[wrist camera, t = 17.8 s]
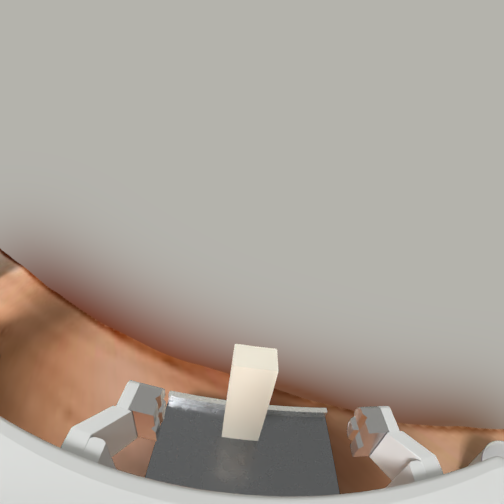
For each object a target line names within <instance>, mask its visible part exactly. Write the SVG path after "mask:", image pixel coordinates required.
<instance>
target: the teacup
mask: <svg viewBox="0 0 504 504" xmlns="http://www.w3.org/2000/svg"><path fill="white" fill-rule="evenodd" d="M494 456H500V457H502V458H504V441H493V442H491V443H489V444H488V445H487V446H486V447H485V448H484V450H483V451H482V452H481V453H480V454H479V455H478V456H477V457H476V458H475V459H474V460H473V461H472V462H471V463H470V464H469V465H468V466H470V465H473V464H476V463H478V462H481V461H484V460H486V459H488V458H491V457H494ZM468 466H467V467H468Z"/></svg>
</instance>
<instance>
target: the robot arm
mask: <svg viewBox="0 0 504 504" xmlns="http://www.w3.org/2000/svg"><path fill="white" fill-rule="evenodd" d="M164 397H165V389H163V388H159V387H155V386H151V385H147V384H143V383H139V382H135V381H132V380H130V381H129V382H128V383H127V385H126V387H125V389H124V391H123V393H122V395H121V397H120V399H119V401H118V403H117V405H116V406H111V407H109V408H107V409H106V410H104V411H102V412H100V413H98V414H96V415H94V416H92V417H91V418H89V419H87V420H85V421H83V422H81V423H79V424H77V425H75V426H73V427H72V428H71V429H70V431H69V433H68V435H67V437H66V439H65V440H64V442H63V444H62V446H61V448H59V447H57V446H55V445H53V444H51V443H49V442H47V441H45V440H42V439H40V438H38V437H36V436H35V435H33V434H31V433H29V432H27V431H25V430H23V429H21V428H20V427H18V426H16V425H14V424H13V423H11V422H9V421H7V420H6V419H4V418H3V417H1V416H0V504H504V458H502V457H500V456H494V457H491V458H488V459H486V460H484V461H481V462H478V463H476V464H473V465H470V466H468V467H465V468H462V469H459V470H456V471H453V472H450V473H446V474H443V472H442V469H441V467H440V464H439V462H438V460H437V457H436V456H435V455H434V454H433V453H431V452H430V451H429V450H427V449H426V448H425V447H423V446H422V445H420V444H419V443H418V442H416V441H415V440H414V439H412V438H411V437H410V436H408V435H407V434H406V433H404V432H403V431H400V430H399V428H398V425H397V423H396V421H395V418H394V416H393V414H392V411H391V409H390V407H389V406H378V407H377V406H376V407H358V408H357V409H356V410H355V412H354V415H355V416H354V417H353V418H351V419H350V421H349V423H348V426H347V436H348V438H349V439H350V440H351V441H352V443H351V445H350V448H351V452H352V456H353V457H360V456H370V458H371V459H372V460H373V461H374V462H375V463H376V464H377V465H378V466H379V467H380V469H381V470H382V471H383V472H384V473H385V474H386V475H387V476H388V477H389V478H390V479H391V480H392V482H391V483H390V484H389V485H388V486H386V488H383V489H377V490H370V491H363V492H355V493H346V494H335V495H321V496H259V495H244V494H233V493H224V492H216V491H208V490H202V489H196V488H190V487H184V486H179V485H174V484H169V483H165V482H160V481H156V480H152V479H148V478H144V477H141V476H137V475H133V474H130V473H127V472H123V471H120V470H117V469H116V467H115V465H114V463H113V460H112V458H111V457H113V456H114V455H115V454H117V453H118V452H119V451H121V450H122V449H123V448H125V447H126V446H127V445H129V444H130V443H131V442H132V441H134V440H135V439H136V438H137V437H141V438H145V439H150V440H154V441H157V439H158V436H159V432H160V423H161V422H163V419H164V416H165V410H166V401H165V400H164Z"/></svg>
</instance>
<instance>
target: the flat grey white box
mask: <svg viewBox="0 0 504 504" xmlns="http://www.w3.org/2000/svg"><path fill="white" fill-rule="evenodd" d="M168 397H169V401H168V404H167V407H166V410H165V416H164V419H163V422H162V423H161V426H160V432H159V436H158V439H157V441H156V442H155V446H154V449H153V452H152V456H151V459H150V463H149V466H148V469H147V473H146V476H145V478H148V479H152V480H156V481H160V482H165V483H169V484H174V485H179V486H184V487H190V488H196V489H202V490H208V491H216V492H224V493H233V494H244V495H259V496H321V495H335V494H340V493H339V487H338V482H337V476H336V471H335V465H334V460H333V455H332V449H331V444H330V439H329V434H328V429H327V424H326V419H325V416H326V414H327V408H309V407H289V406H275V405H269V406H268V410H267V413H266V417H265V420H264V423H263V426H262V430H261V433H260V436H259V439H258V441H253V440H242V439H233V438H225V437H222V429H223V421H224V413H225V406H226V400H221V399H215V398H208V397H202V396H196V395H190V394H185V393H180V392H175V391H170V392H169V395H168Z"/></svg>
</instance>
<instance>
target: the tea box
mask: <svg viewBox="0 0 504 504" xmlns="http://www.w3.org/2000/svg"><path fill="white" fill-rule="evenodd" d="M278 371H279V370H278V358H277V349H272V348H264V347H256V346H247V345H240V344H235V346H234V353H233V360H232V366H231V373H230V380H229V386H228V393H227V400H226V406H225V413H224V421H223V429H222V437H225V438H233V439H242V440H253V441H258V439H259V436H260V433H261V430H262V426H263V423H264V420H265V417H266V413H267V410H268V406H269V403H270V400H271V396H272V393H273V389H274V385H275V382H276V379H277V375H278Z"/></svg>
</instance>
